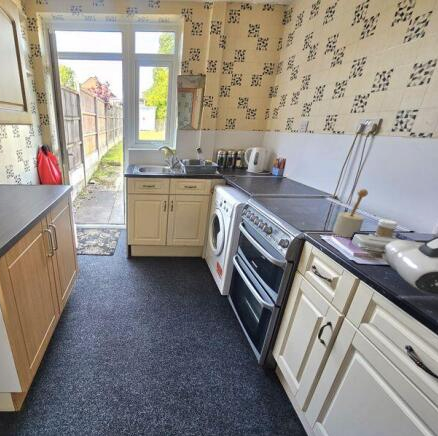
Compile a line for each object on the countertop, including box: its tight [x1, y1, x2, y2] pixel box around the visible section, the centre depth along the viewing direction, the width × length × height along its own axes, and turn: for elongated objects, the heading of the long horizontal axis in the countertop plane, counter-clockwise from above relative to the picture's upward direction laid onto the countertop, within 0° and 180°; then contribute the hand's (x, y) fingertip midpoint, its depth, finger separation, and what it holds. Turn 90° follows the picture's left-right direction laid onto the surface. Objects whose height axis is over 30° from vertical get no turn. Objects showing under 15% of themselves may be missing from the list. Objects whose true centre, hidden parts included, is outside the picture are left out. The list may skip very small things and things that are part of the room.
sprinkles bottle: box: [367, 218, 398, 259], centre depth 86 cm, size 5×5×14 cm
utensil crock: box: [332, 188, 369, 239], centre depth 106 cm, size 9×9×22 cm
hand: (380, 237), depth 87 cm, fingers closed on sprinkles bottle, 4 cm apart
